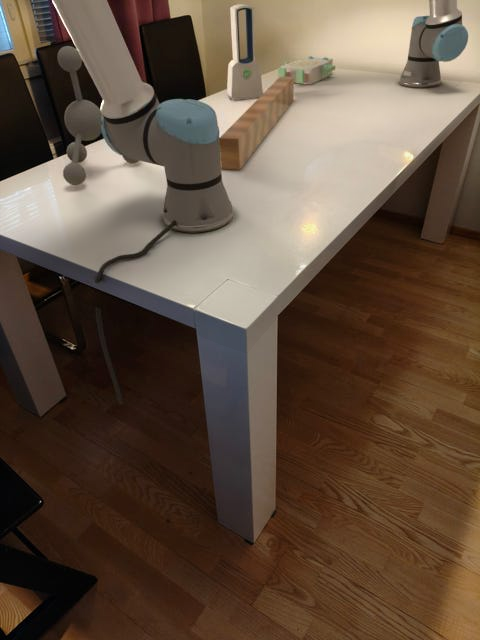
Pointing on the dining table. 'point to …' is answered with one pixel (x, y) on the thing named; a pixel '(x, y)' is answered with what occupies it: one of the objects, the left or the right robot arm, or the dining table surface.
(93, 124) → the molecular model
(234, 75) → the electronic device
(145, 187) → the dining table surface
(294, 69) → the decorative block
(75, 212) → the dining table surface
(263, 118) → the post
